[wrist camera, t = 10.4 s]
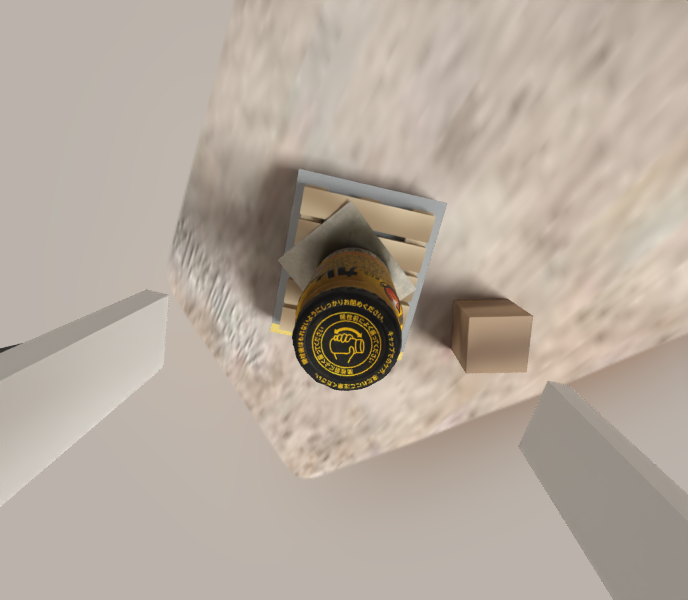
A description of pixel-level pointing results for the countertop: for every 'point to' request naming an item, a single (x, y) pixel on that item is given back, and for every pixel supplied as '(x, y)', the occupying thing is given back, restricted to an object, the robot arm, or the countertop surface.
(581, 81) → the countertop surface
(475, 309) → the brown cube
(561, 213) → the countertop surface
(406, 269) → the pallet
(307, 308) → the condiment
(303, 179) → the dock
